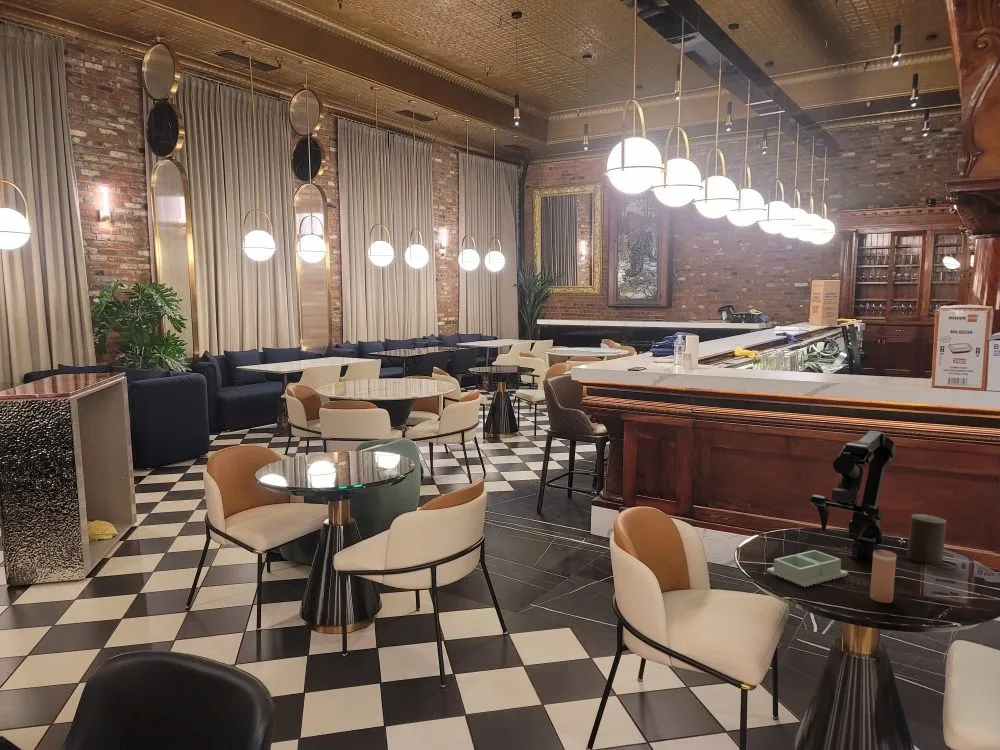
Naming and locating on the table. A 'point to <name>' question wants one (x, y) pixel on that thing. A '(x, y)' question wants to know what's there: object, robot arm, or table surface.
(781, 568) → the compartment organizer
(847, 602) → the table surface
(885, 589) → the tumbler
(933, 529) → the pillar candle
